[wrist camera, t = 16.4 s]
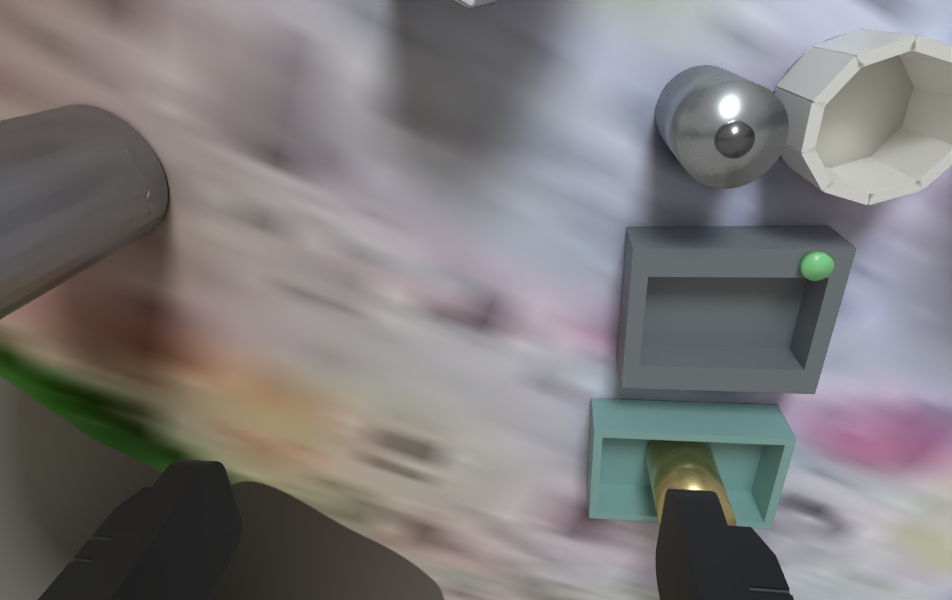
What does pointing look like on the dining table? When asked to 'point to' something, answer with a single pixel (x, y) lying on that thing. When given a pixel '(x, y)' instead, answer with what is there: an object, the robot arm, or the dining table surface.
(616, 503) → the trough
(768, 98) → the grey cell
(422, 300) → the dining table surface
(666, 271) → the block
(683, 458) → the brass cell
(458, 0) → the light bulb box
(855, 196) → the white cup
